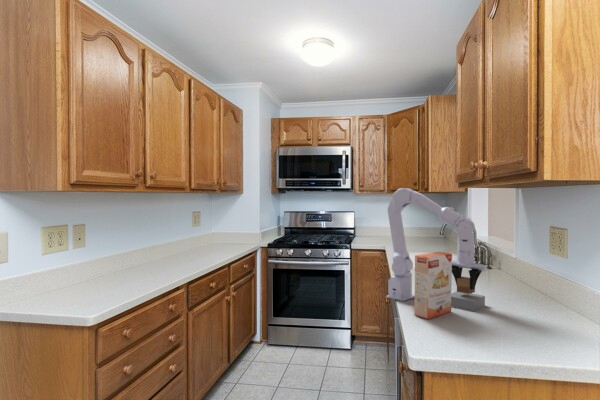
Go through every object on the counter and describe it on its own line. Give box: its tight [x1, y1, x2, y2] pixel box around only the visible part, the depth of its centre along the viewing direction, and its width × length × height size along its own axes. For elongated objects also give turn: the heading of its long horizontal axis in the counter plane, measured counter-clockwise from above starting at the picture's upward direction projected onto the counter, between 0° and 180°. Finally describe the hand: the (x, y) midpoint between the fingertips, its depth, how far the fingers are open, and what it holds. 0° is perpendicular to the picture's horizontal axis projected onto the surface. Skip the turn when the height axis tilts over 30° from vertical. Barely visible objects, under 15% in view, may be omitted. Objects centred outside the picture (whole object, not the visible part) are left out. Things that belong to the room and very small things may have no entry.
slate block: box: [451, 290, 486, 313], centre depth 134 cm, size 10×10×4 cm
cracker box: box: [413, 251, 453, 320], centre depth 125 cm, size 14×6×21 cm, turn 126°
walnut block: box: [456, 276, 476, 294], centre depth 134 cm, size 5×5×5 cm
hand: (465, 287), depth 134 cm, fingers closed on walnut block, 5 cm apart
